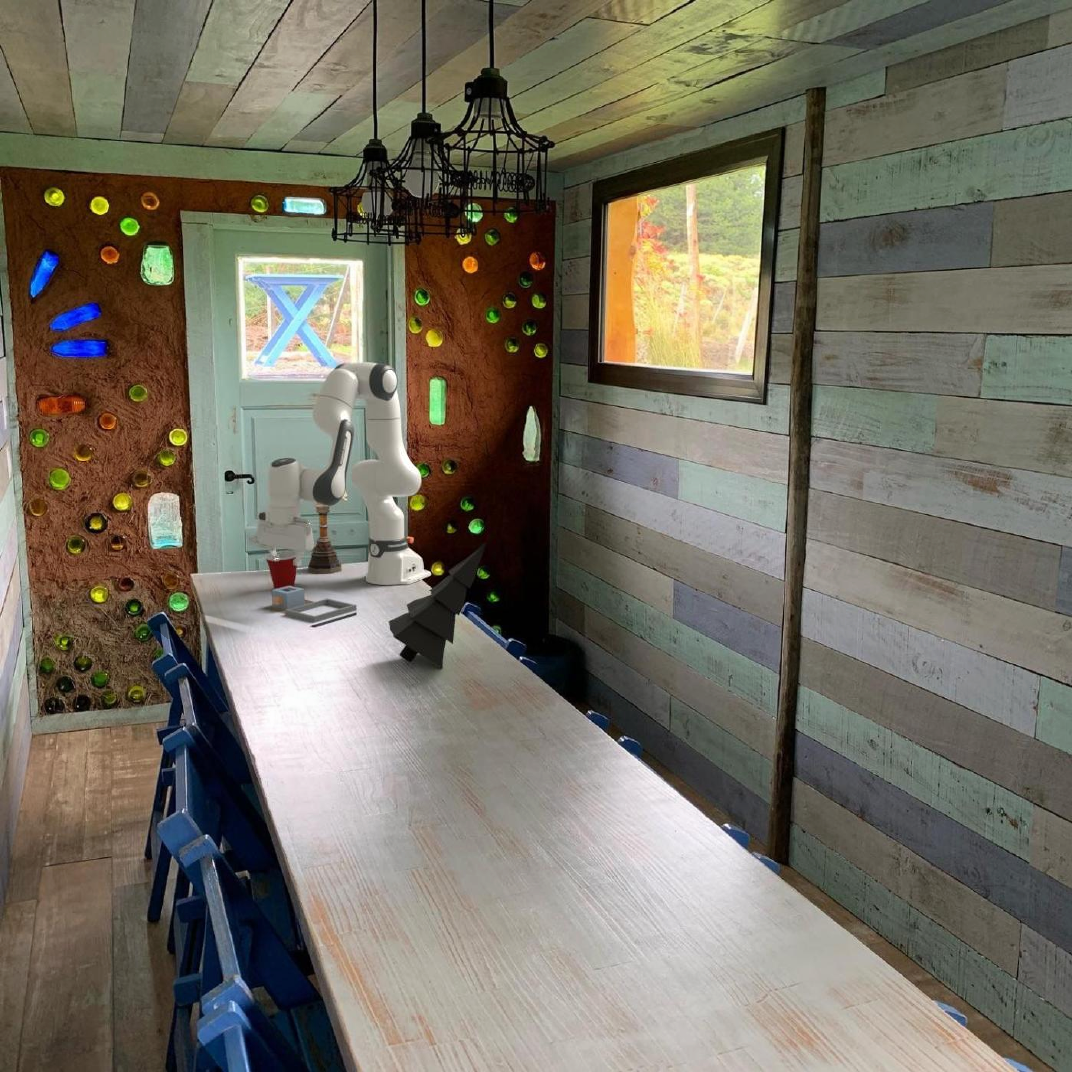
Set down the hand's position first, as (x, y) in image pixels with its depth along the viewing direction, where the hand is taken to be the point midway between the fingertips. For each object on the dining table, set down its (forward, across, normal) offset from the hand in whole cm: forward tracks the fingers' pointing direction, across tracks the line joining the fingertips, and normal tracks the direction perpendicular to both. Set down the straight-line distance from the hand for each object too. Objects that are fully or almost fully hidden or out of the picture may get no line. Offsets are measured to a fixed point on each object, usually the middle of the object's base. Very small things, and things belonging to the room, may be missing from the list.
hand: (286, 563), depth 311 cm
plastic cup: (+14, +20, -16) cm, 29 cm away
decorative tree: (+15, -64, +7) cm, 67 cm away
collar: (+13, 0, -1) cm, 13 cm away
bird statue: (+14, +30, -46) cm, 56 cm away
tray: (+14, -12, -2) cm, 19 cm away
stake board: (+14, 0, -2) cm, 14 cm away
